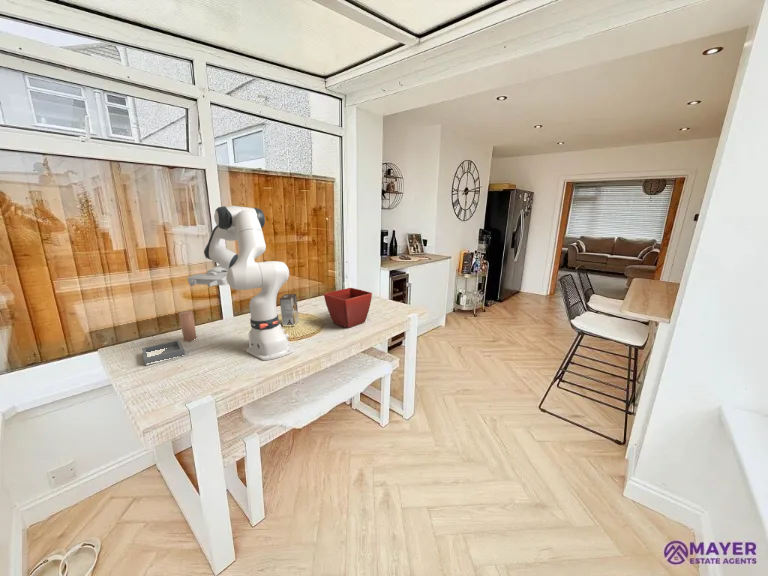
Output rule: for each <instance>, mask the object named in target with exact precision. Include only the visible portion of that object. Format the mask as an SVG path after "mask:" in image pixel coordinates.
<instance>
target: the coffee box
mask: <svg viewBox="0 0 768 576" xmlns="http://www.w3.org/2000/svg"><path fill="white" fill-rule="evenodd" d="M279 304H280V314H281V323H282V326H283V325H294V324H295V323H296V322H297V321H298V320H299V321H300V319H299V311H298V309H299V308H298V299H297V293H291V294H290V293H287V294H286V293H285V294H284V295H282V296H281V297H280V298H279ZM299 321H298V322H299Z"/></svg>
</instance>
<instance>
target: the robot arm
mask: <svg viewBox="0 0 768 576" xmlns="http://www.w3.org/2000/svg"><path fill="white" fill-rule="evenodd" d="M265 218H266V217H265V214H264V211H263V210H262V209H261V208H258V207H247V206H239V205H238V206H237V205H229V206H218V207H217V208H216V209H215V211H214V216H213V219H214V222H215V224H216V226H215V227H214V228H213V230H212V231H211V234H210V237H209V240H208V242H207V244H206V246H205V248H204V251H203V253H204V257H205V258H206V259H208V260H210V261H212V262H214V263H216V264H217V265H216V266H214V267H212V268H210V269H208V270H207V271H206V273H196V274H195V273H194V274H192V275H190V276H188V277H187V283H188V284H189V286H190V287H193V286H195V285H201V286H202V285H204V286H205V285H207V287H210V288H211V287H213V286H226V285H228V286H229V287H230V288H231V289H233V290H240V291H241V290H242V291H243V290H244V291H246V290H252V289H253V290H254V289H258V288H261V290H260V292H258V294H256V295H255V296H254V295H253V297H252V298H251V299H250V301H249V302H248V303H249V304H248V305H249V313H250V318H249V320H250V327H251V329H250V330H249V331H248V344H249V347H247V348H246V353H248V354H250V355H252V356H254V357H255V358H258V359H259V360H262V361H268V360H269V361H270V360H275V359H278V358H282V357H284V356H287V355H290V354H292V353H293V352H294V350H295V349H294V347H293V345H292V344H291V342H290V341H289V338H290V335H289V333H285V330H286V329H285V328H283V326H282V325H281V322H280V318H279V315H278V312H277V311H278V310H277V298H278V295H279V294H278V293H279V291H280V290H281V288H282V287H283V285H284V284H286V282H288V279H289V278H290V270H289V266H287V264H286V263H285V262H284V261H279V260H278V261H277V260H271V261H269V260H268V261H260V262H257V261H255V259H257V258H258V257H260V256H261V255H264V253H265V252H266V250H267V245H266V240H265V236H264V231H263V228H264V227H265V224H266V219H265ZM221 239H222V240H225V241H228V242H233V241H237V244H238V245H237V246H238V253H236V252H234V251H232V250H230V249H228V248H227V247H225V246H223V245H221V244H220V240H221Z"/></svg>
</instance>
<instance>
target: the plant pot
mask: <svg viewBox="0 0 768 576" xmlns="http://www.w3.org/2000/svg"><path fill="white" fill-rule="evenodd" d="M323 297H324V298H323V299H324V301H325V305H326V307H327V311H328V314H329V316H330V319H331V321H332V322H333V324H335V325H338V326H340V327H343V328H347V329H348V328H352V327H355V326H358V325H361V324H364V323H366V320H367V318H368V313H369V311H370V307H371V303H372V297H373V292H370V291H367V290H362V289H358V288H354V287H348V288H342V289H338V290H334V291H329V292H325V293H323Z"/></svg>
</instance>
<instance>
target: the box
mask: <svg viewBox="0 0 768 576" xmlns="http://www.w3.org/2000/svg"><path fill="white" fill-rule="evenodd" d="M164 348H165V351H163V352H162V353H161V354H159V355H155V356H151V357H147V353H146V352H151V351H155V350H160V349H164ZM166 348H167V349H166ZM185 351H186V350H185V348H184V346H183V344H182V342H181V340H180V339H177V340H171V341H167V342H164V343H163V342H162V343H160V344H159V343H158V344H155V345H151V346H150V345H149V346H146V347H145V346H144V347H143V348H141V352H142V355H143V360H144V365H145V364H147V363H151V362H155V361H160V360H164V359H169V358H173V357H177V356H182V355H185V356H186V352H185ZM182 357H183V356H182Z"/></svg>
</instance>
